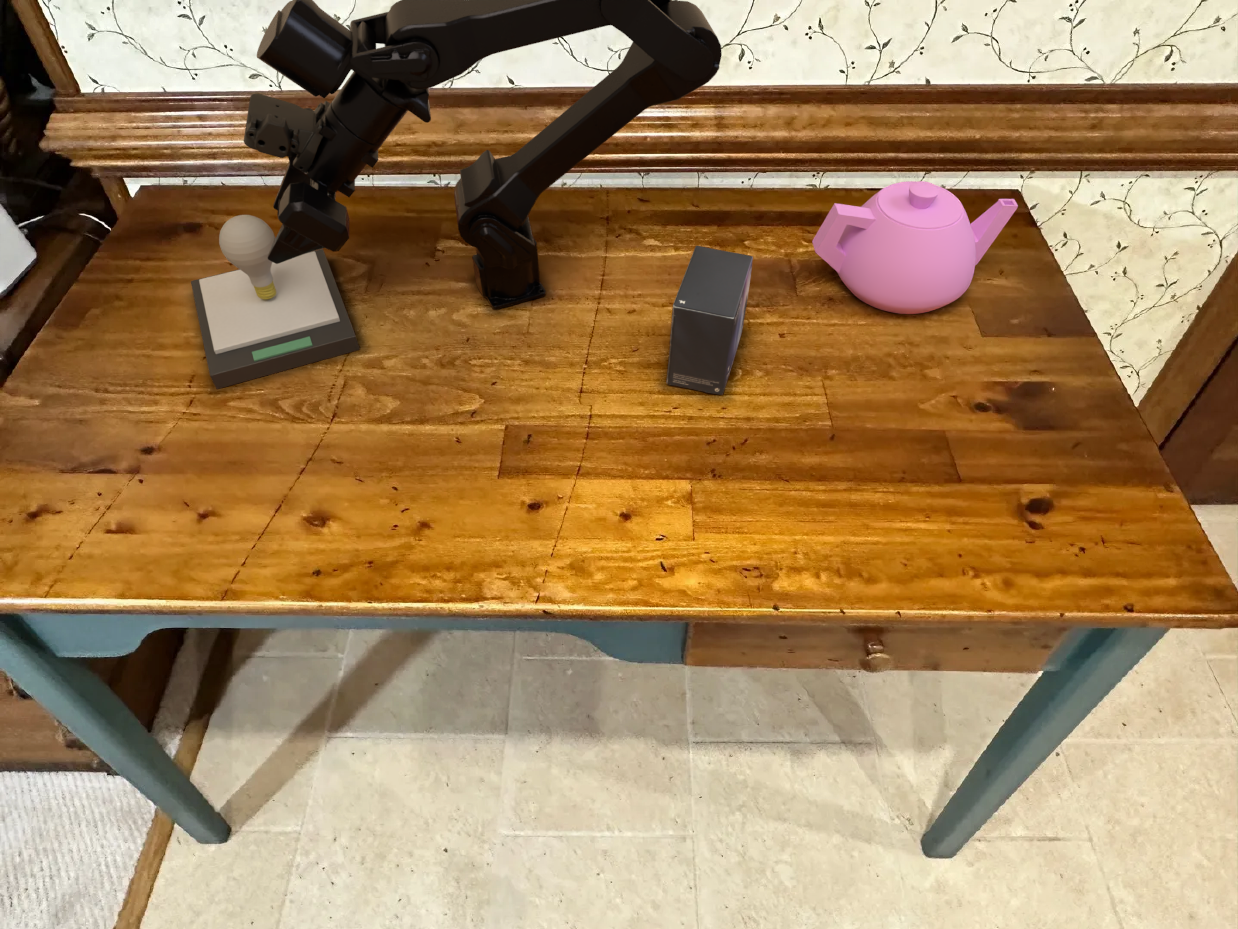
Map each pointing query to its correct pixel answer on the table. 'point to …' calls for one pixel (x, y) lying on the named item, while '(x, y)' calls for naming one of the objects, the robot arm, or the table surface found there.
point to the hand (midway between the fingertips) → (274, 234)
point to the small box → (708, 319)
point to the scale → (272, 320)
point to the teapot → (908, 246)
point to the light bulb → (250, 251)
